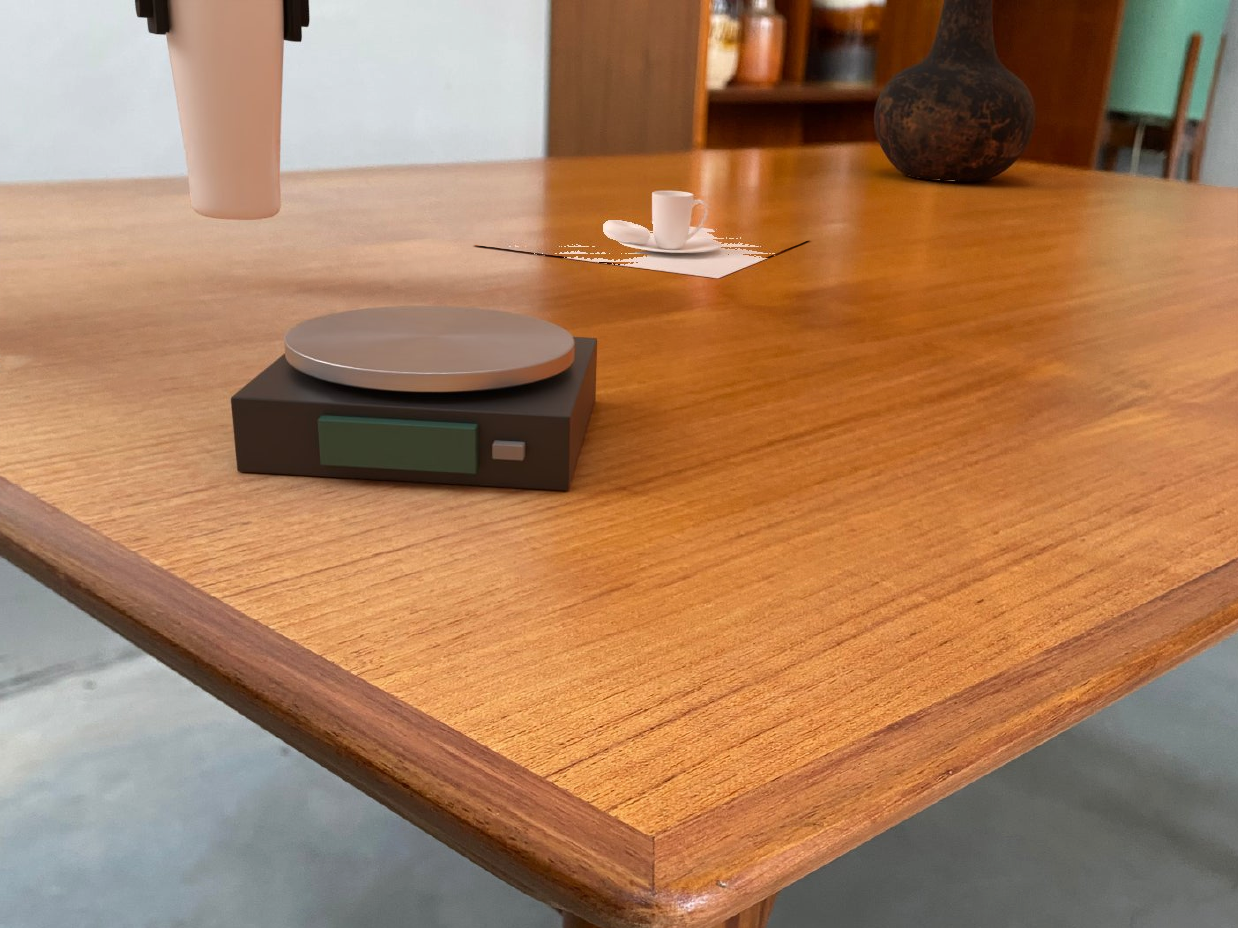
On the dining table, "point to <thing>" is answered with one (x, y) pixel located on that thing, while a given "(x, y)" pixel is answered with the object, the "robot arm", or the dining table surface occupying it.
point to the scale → (417, 429)
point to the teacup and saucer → (675, 241)
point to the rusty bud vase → (956, 104)
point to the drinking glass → (229, 102)
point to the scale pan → (429, 349)
